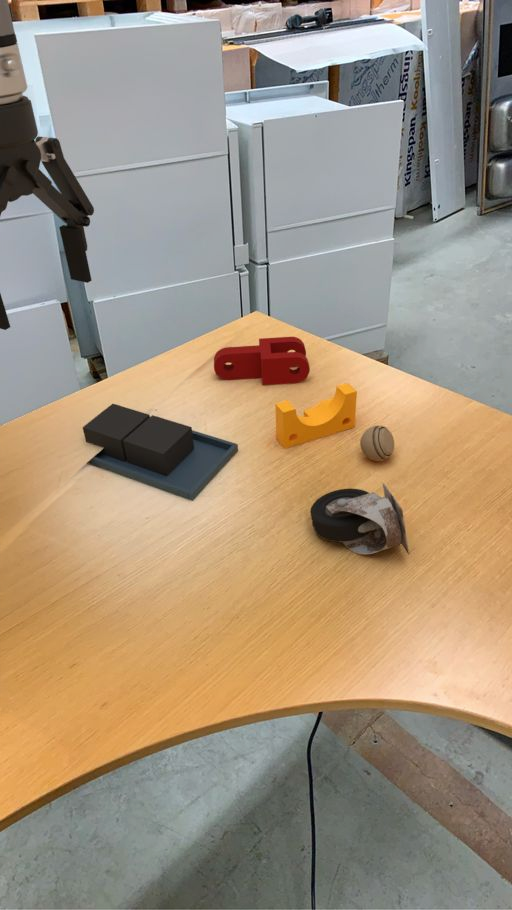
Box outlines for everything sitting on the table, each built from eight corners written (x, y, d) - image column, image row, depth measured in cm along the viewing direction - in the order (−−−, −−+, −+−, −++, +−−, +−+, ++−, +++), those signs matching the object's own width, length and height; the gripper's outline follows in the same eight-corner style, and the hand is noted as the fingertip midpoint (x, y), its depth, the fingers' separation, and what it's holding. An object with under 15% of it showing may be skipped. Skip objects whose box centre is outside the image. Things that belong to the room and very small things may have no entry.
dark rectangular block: (127, 462, 94) (122, 440, 92) (155, 436, 99) (152, 414, 97) (167, 476, 92) (163, 454, 89) (194, 449, 96) (191, 426, 94)
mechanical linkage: (304, 361, 116) (304, 335, 113) (309, 382, 110) (309, 356, 107) (215, 366, 116) (212, 341, 113) (215, 388, 110) (212, 362, 107)
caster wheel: (310, 527, 87) (382, 507, 87) (332, 578, 76) (413, 554, 77) (300, 485, 84) (374, 463, 84) (322, 532, 73) (406, 507, 74)
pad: (87, 449, 97) (82, 427, 95) (117, 424, 102) (112, 403, 100) (124, 462, 94) (120, 440, 92) (153, 436, 99) (149, 414, 97)
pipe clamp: (340, 412, 103) (341, 377, 99) (354, 427, 100) (356, 391, 96) (271, 433, 99) (270, 397, 95) (283, 448, 96) (283, 412, 92)
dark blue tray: (72, 460, 96) (70, 451, 95) (123, 417, 104) (122, 408, 103) (192, 503, 88) (191, 494, 87) (238, 453, 96) (237, 443, 95)
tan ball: (369, 471, 91) (371, 443, 88) (353, 451, 95) (355, 423, 92) (400, 463, 92) (404, 434, 89) (384, 443, 96) (387, 415, 93)
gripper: (-94, 128, 53) (-17, 356, 67) (102, 78, 70) (133, 268, 83) (-151, 122, 56) (-66, 341, 70) (50, 75, 73) (87, 259, 86)
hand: (42, 302), depth 77 cm, fingers open, 13 cm apart
